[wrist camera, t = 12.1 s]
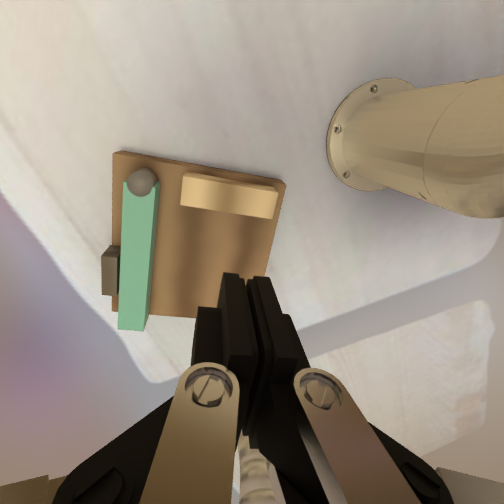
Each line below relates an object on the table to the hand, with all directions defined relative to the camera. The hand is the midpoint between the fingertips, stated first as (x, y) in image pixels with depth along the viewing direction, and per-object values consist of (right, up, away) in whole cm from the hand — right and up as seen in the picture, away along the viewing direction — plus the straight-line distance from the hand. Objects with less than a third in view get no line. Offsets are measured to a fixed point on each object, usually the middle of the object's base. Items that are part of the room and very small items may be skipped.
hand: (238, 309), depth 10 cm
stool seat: (-7, +3, +28) cm, 29 cm away
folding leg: (-13, +2, +23) cm, 27 cm away
